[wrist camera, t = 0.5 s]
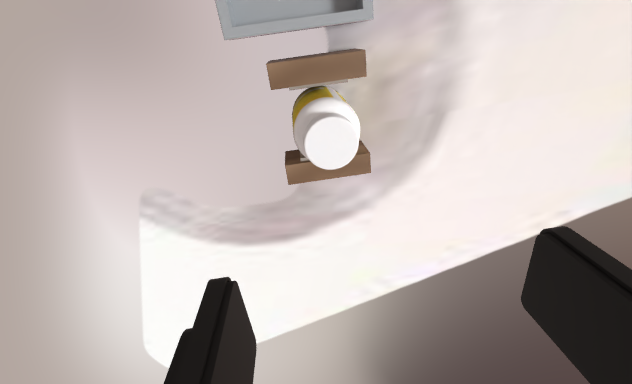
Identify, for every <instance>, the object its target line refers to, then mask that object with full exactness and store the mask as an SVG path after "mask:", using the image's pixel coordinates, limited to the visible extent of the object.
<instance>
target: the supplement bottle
mask: <svg viewBox="0 0 632 384" xmlns="http://www.w3.org/2000/svg"><path fill="white" fill-rule="evenodd" d="M292 118H293V134H294V140H295V143H296V145H297V147H298V149H299V151H300V152H301V153H302V154H303V155H304V156H305V157H306V158H307V159H309V160H310V161H311V162H312V163H313V164H314V165H316V166H317V167H319V168H322V169H327V170H333V169H338V168H341V167H343V166H345V165H347V164H348V163H349V162H350V161H351V160H352V159H353V158H354V156H355V155H356V152H357V150H358V146H359V137H360V123H359V120H358V117H357V115H356V113H355V112H354V110H353V109H352V108H351V107H350V105H349V104H348V103H347V102H346V101H345V100H344V98H343V97H342V96H341V95H340V94H339V93H338V92H337V91H335V90H334V89H332V88H330V87H327V86H316V87H310V88H308V89H306V90H305V91H303V92H302V93H301V94H300V95H299V97H298V98H297V99H296V101H295V104H294V107H293V113H292Z"/></svg>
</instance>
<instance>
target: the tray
mask: <svg viewBox="0 0 632 384" xmlns="http://www.w3.org/2000/svg"><path fill="white" fill-rule="evenodd" d="M215 2H216V6H217V10H218V15H219V19H220V23H221V28H222V32H223V36H224V40H233V39H241V38H248V37H255V36H262V35H269V34H276V33H283V32H291V31H297V30H305V29H312V28H319V27H327V26H334V25H341V24H348V23H355V22H362V21H368V20H372V19H374V17H373V0H215Z"/></svg>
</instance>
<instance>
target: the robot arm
mask: <svg viewBox="0 0 632 384" xmlns="http://www.w3.org/2000/svg"><path fill="white" fill-rule="evenodd" d="M521 302H522V304H523V306H524V308H525V310H526V311H527V312H528V313H529V314H530V315H531V316H532V318H533V319H534V320H535V321H536V322H537V323H538V324H539V325H540V327H541V328H542V329H543V330H544V331H545V332H546V333H547V335H548V336H549V337H550V338H551V339H552V340H553V342H554V343H555V344H556V345H557V346H558V347H559V348H560V350H561V351H562V352H563V353H564V354H565V355H566V356H567V358H568V359H569V360H570V361H571V362H572V363H573V364H574V365H575V367H576V368H577V369H578V370H579V371H580V372H581V374H582V375H583V376H584V377H585V378H586V379H587V380H588V382H589V383H590V384H632V270H631V269H629V268H628V267H627V266H625V265H624V264H622V263H621V262H619V261H618V260H616V259H615V258H613V257H612V256H610V255H609V254H607V253H606V252H604V251H603V250H601V249H600V248H598V247H597V246H595V245H594V244H592V243H591V242H589V241H588V240H586V239H585V238H584V237H582V236H581V235H579V234H578V233H576V232H575V231H573V230H572V229H570V228H568V227H565V226H561V227H555V228H548V229H544V230H542V231H541V232H540V235H538V236H537V238H536V240H535V244H534V248H533V252H532V256H531V260H530V264H529V268H528V272H527V276H526V280H525V284H524V288H523V291H522V296H521ZM255 357H256V339H255V336H254V333H253V330H252V326H251V323H250V320H249V317H248V314H247V311H246V308H245V305H244V302H243V299H242V296H241V292H240V289H239V286H238V283H237V282H236V281H231V279H230V278H229V277H224V278H218V279H211V280H209V281H208V283H207V286H206V289H205V292H204V295H203V298H202V301H201V304H200V307H199V310H198V313H197V316H196V319H195V322H194V325H193V328H190V329H186V330H185V331H184V332H183V333H182V336H181V338H180V340H179V343H178V346H177V348H176V351H175V354H174V357H173V359H172V362H171V365H170V368H169V371H168V373H167V376H166V379H165V381H164V384H253V377H254V376H253V375H254V367H255Z"/></svg>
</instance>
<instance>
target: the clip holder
mask: <svg viewBox="0 0 632 384" xmlns="http://www.w3.org/2000/svg"><path fill="white" fill-rule="evenodd" d="M266 65H267V70H268V76H269V81H270V87H271V90H274V89H281V88H288V87H289V89H290V90H295V89H302V88H309V87H316V86H323V85H330V84H337V83H344V82H348V79H352V78H359V77H366V54H365V50H362V49H349V50H342V51H335V52H328V53H321V54H314V55H307V56H301V57H293V58H286V59H279V60H272V61H269V62H268V63H267V64H266ZM285 153H286V155H285V167H286V173H287V179H288V184H289V185H291V184H298V183H305V182H311V181H318V180H325V179H332V178H339V177H345V176H352V175H359V174H366V173H371V165H370V153H369V151H368V150H367V148H366V147H365V146H364V144H363V143H362V141H359V146H358V150H357V152H356V155H355V156H354V158H353V159H352V160H351V161H350V162H349V163H348V164H347V165H345V166H343V167H341V168H338V169H333V170H327V169H322V168H319V167H317V166H316V165H314V164H313V163H312V162H311V161H310V160H309V159H307V158H306V157H305V156H304V155H303V154H302V153H301V152H300V151H299V150H293V151H286V152H285Z"/></svg>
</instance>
